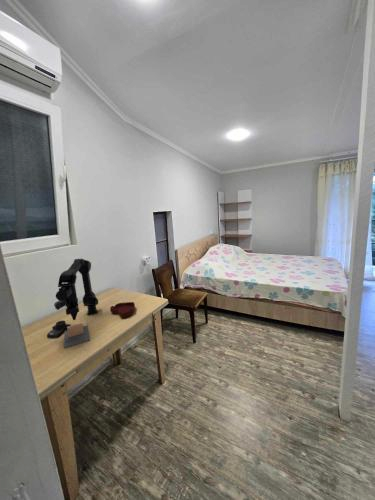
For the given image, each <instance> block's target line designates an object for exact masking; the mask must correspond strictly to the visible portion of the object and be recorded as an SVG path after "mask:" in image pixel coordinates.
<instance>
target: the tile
mask: <svg viewBox="0 0 375 500" xmlns="http://www.w3.org/2000/svg"><path fill="white" fill-rule="evenodd" d="M83 326H84V325H83V322H81V323H78V324H73V325H72V324H71V326H68V327H67V329H68V330H67V331H68V336H69V337H72V336H75V335H79V334H82V333H84V330H83Z"/></svg>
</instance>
